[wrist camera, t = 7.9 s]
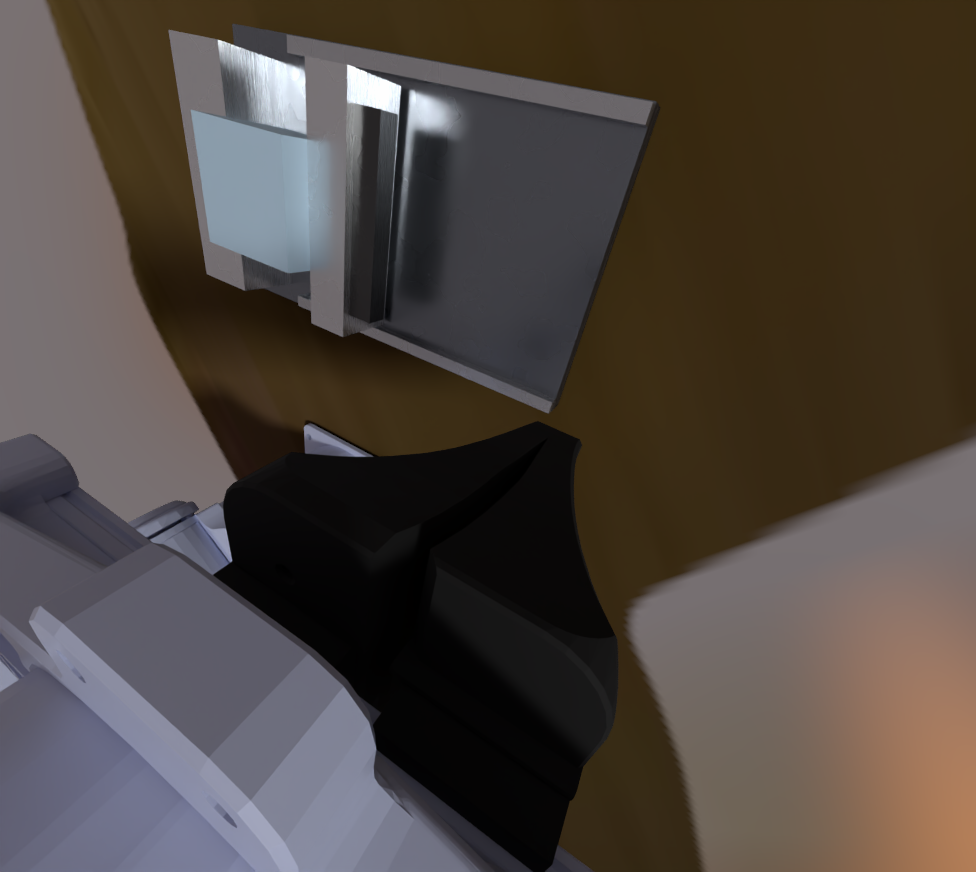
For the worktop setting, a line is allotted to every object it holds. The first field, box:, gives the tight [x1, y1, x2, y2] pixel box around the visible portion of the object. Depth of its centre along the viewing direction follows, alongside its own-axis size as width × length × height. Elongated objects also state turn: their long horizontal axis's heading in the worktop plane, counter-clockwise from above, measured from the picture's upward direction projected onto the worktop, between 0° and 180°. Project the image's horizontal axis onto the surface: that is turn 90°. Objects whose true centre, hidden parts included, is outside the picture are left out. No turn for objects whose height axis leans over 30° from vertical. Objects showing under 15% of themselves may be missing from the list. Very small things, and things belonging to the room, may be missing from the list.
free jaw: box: [305, 56, 401, 337], centre depth 18 cm, size 10×3×3 cm, turn 167°
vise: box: [169, 24, 660, 414], centre depth 19 cm, size 12×20×4 cm, turn 77°
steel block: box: [191, 110, 310, 273], centre depth 19 cm, size 5×5×4 cm
